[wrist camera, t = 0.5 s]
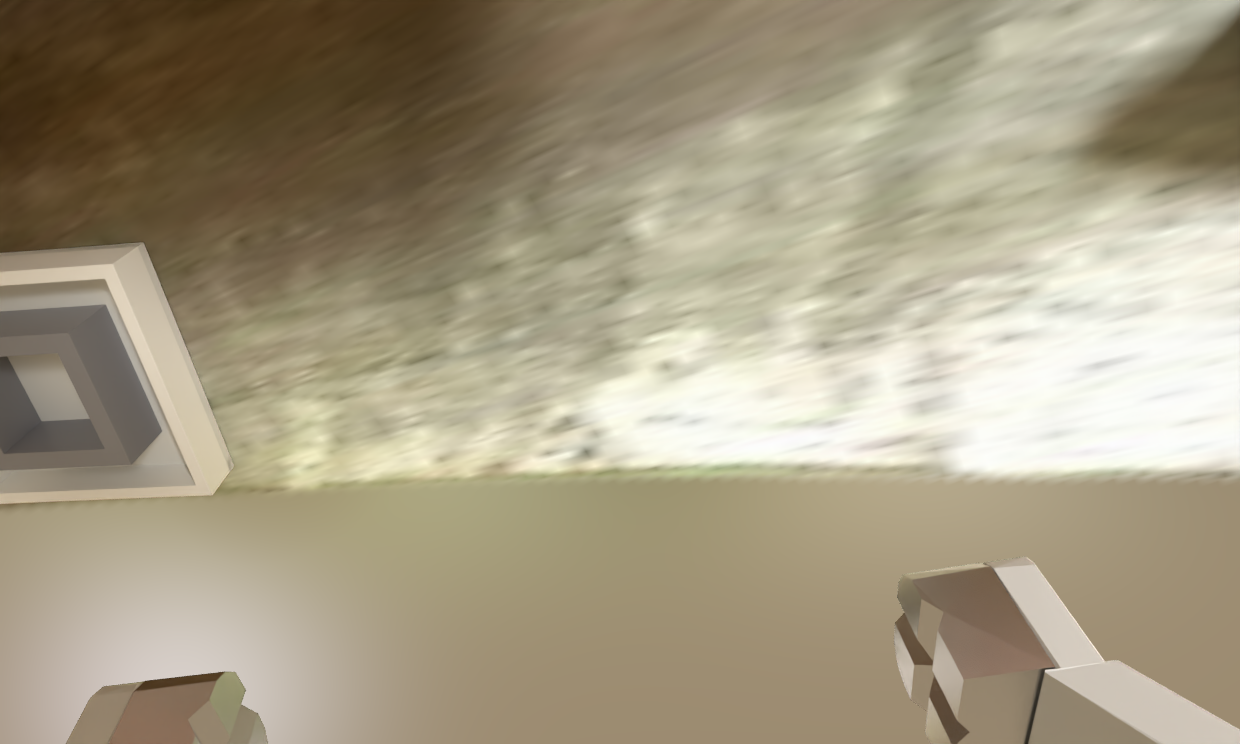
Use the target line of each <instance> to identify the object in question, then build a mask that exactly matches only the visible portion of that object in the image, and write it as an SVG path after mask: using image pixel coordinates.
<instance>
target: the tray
mask: <svg viewBox="0 0 1240 744" xmlns="http://www.w3.org/2000/svg"><path fill="white" fill-rule="evenodd" d="M233 467H234V464H233V462H232V459H231V457H230V454H229V452H228V449H227V447H226V445H225V442H224V440H223V437H222V435H221V432H220V430H219V427H218V425H217V422H216V420H215V417H214V415H213V412H212V410H211V408H210V405H209V403H208V400H207V398H206V395H205V393H204V390H203V388H202V385H201V383H200V380H199V378H198V375H197V373H196V371H195V368H194V366H193V363H192V361H191V358H190V356H189V353H188V351H187V348H186V346H185V343H184V341H183V339H182V336H181V334H180V331H179V329H178V326H177V324H176V321H175V319H174V316H173V314H172V311H171V309H170V306H169V304H168V302H167V299H166V297H165V294H164V292H163V289H162V287H161V284H160V282H159V279H158V277H157V274H156V272H155V270H154V267H153V265H152V262H151V260H150V257H149V255H148V252H147V250H146V247H145V245H144V242H141V243H127V244H114V245H101V246H87V247H74V248H60V249H47V250H33V251H20V252H7V253H0V504H7V503H31V502H56V501H81V500H105V499H130V498H155V497H180V496H204V495H213V494H214V493H215V491H216V490H217V488H218V487H219V486H220V484H221V483H222V482H223V480H224V479H225V478H226V476H227V475H228V474H229V472H230V471H231V470H232V468H233Z"/></svg>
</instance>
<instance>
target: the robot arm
mask: <svg viewBox="0 0 1240 744" xmlns="http://www.w3.org/2000/svg"><path fill="white" fill-rule="evenodd" d="M897 598H898V600H899V602H900V604H901V606H902V609H903V611H904V614H903V615H902V616H901V617H900V618H899V619H898V620H897V621H896V622H895V635H894V645H895V651H896V658H897V664H898V668H899V671H900V674H901V677H902V680H903V683H904V685H905V688H906V690H907V692H908V694H909V697H910V699H911V701H913V702H914V703H916V704H917V705H918V706H920V707H921V708H923V709H924V710H925V711H927V719H926V728H925V733H926V735H927V737H928V740H929V742H930V744H1240V730H1239V729H1238V728H1236V727H1234V726H1232V725H1231V724H1229V723H1227V722H1225V721H1224V720H1222V719H1220V718H1218V717H1217V716H1215V715H1213V714H1211V713H1209V712H1208V711H1206V710H1204V709H1203V708H1201V707H1199V706H1197V705H1195V704H1194V703H1192V702H1190V701H1189V700H1187V699H1185V698H1183V697H1182V696H1180V695H1178V694H1176V693H1175V692H1173V691H1171V690H1169V689H1167V688H1166V687H1164V686H1162V685H1160V684H1159V683H1157V682H1155V681H1153V680H1151V679H1150V678H1148V677H1146V676H1145V675H1143V674H1141V673H1139V672H1138V671H1136V670H1134V669H1132V668H1131V667H1129V666H1127V665H1125V664H1124V663H1122V662H1120V661H1118V660H1114V661H1104V660H1103V658H1102V657H1101V656H1100V654H1099V653H1098V651H1097V650H1096V648H1095V647H1094V646H1093V644H1092V643H1091V642H1090V640H1089V639H1088V637H1087V636H1086V635H1085V633H1084V632H1083V631H1082V629H1081V627H1080V626H1079V625H1078V623H1077V622H1076V621H1075V619H1074V618H1073V616H1072V615H1071V614H1070V612H1069V611H1068V609H1067V608H1066V607H1065V605H1064V604H1063V602H1062V601H1061V600H1060V598H1059V597H1058V596H1057V594H1056V593H1055V591H1054V590H1053V588H1052V587H1051V586H1050V584H1049V583H1048V581H1047V580H1046V579H1045V577H1044V576H1043V575H1042V573H1041V572H1040V570H1039V569H1038V567H1037V566H1036V565H1035V563H1034V562H1033V561H1031V560H1030V559H1028V558H1027V557H1019V558H1012V559H1004V560H998V561H991V562H985V563H983V564H981V563H975V564H969V565H963V566H956V567H949V568H943V569H936V570H930V571H923V572H917V573H910V574H904V575H902V577H901V579H900V581H899V584H898V595H897ZM245 691H246V690H245V688H244V686H243V684H242V683H241V681H240V679H239V677H238V676H237V674H236V673H235V672H218V673H210V674H201V675H192V676H184V677H175V678H167V679H158V680H149V681H144V682H137V683H129V684H122V685H121V684H120V685H112V686H104V687H102V688H101V689H100V690H99V691H98V692H96V693H95V694H94V695H93V696H92V697H91V698H90V700H89V701H88V703H87V705H86V707H85V709H84V711H83V713H82V714H81V716H80V718H79V720H78V722H77V724H76V726H75V728H74V729H73V731H72V733H71V735H70V737H69V739H68V741H67V743H66V744H268V741H267V736H266V731H265V727H264V725H263V723H262V721H261V719H260V717H259V715H258V713H256V712H254V711H252V710H250V709H248V708H246V707H245V706H243V705H241V702H242V700H243V697H244V694H245Z"/></svg>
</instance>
